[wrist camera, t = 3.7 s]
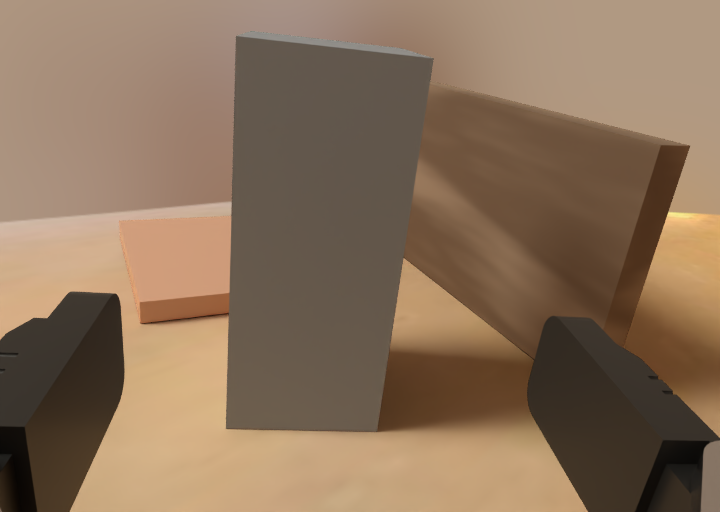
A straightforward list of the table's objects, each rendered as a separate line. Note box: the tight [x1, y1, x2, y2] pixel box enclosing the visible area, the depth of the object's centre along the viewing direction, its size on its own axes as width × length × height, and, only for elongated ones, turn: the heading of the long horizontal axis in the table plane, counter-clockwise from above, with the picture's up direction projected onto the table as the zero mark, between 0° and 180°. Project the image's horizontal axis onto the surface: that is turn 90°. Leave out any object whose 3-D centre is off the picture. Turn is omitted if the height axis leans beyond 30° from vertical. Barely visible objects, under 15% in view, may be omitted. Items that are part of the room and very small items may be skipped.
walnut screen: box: [404, 81, 690, 359], centre depth 27 cm, size 2×16×10 cm, turn 25°
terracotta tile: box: [119, 216, 231, 323], centre depth 30 cm, size 10×10×1 cm
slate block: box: [226, 31, 433, 432], centre depth 19 cm, size 5×5×12 cm
